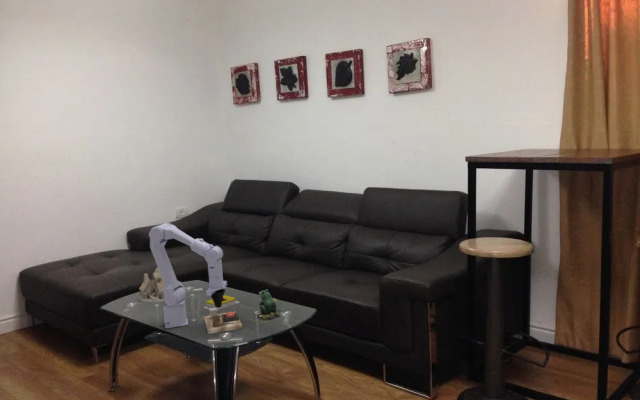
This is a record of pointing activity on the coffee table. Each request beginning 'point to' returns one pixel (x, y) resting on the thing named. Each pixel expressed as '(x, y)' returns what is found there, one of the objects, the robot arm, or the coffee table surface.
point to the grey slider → (213, 312)
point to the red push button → (229, 314)
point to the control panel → (223, 323)
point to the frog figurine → (267, 307)
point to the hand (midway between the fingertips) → (218, 306)
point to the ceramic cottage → (152, 288)
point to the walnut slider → (216, 320)
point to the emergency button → (226, 302)
